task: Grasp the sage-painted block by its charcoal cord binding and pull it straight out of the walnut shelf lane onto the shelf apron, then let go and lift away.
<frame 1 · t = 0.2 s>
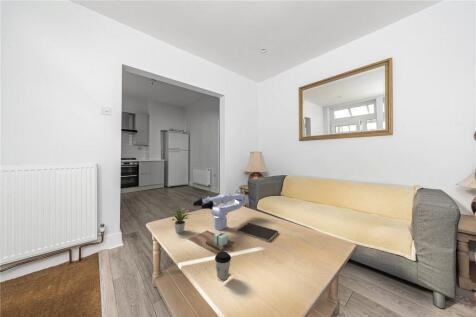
hand: (197, 205, 104), 21 cm above the table, tool horizontal, fingers open, 7 cm apart
coffee cup: (222, 278, 73), on the table
sage block: (220, 245, 97), point 1 cm above the table, touching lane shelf
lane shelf: (211, 242, 102), on the table
house plant: (178, 232, 114), on the table
hardcover book: (257, 233, 117), on the table
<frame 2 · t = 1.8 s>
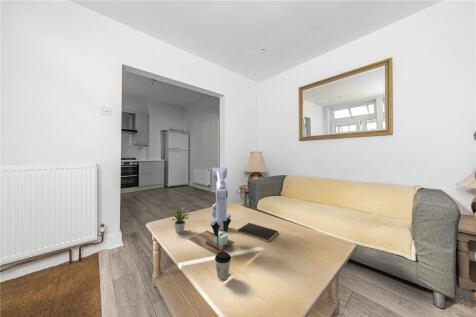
hand: (220, 233, 97), 8 cm above the table, tool pointing down, fingers open, 7 cm apart
nothing on the table moved.
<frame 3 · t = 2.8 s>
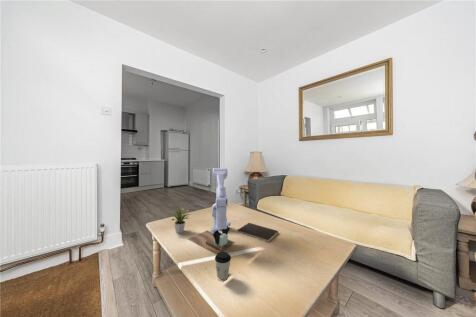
hand: (220, 241, 97), 3 cm above the table, tool pointing down, fingers closed on sage block, 5 cm apart
sage block: (220, 245, 97), point 1 cm above the table, touching gripper, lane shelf
everything else where it was.
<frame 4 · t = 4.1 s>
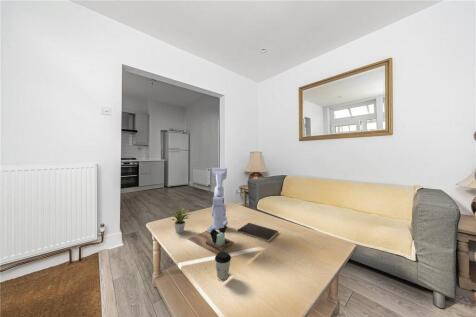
hand: (217, 240, 98), 3 cm above the table, tool pointing down, fingers closed on sage block, 5 cm apart
sage block: (217, 243, 98), point 1 cm above the table, touching gripper
everything else where it was.
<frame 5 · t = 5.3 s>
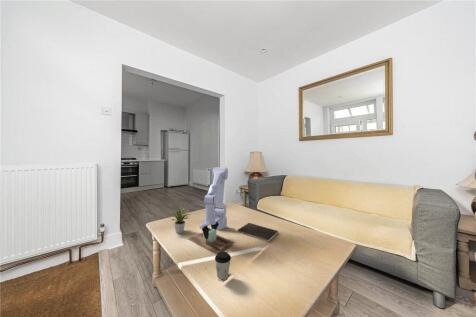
hand: (209, 236, 103), 3 cm above the table, tool pointing down, fingers closed on sage block, 5 cm apart
sage block: (209, 240, 102), point 1 cm above the table, touching gripper
everything else where it was.
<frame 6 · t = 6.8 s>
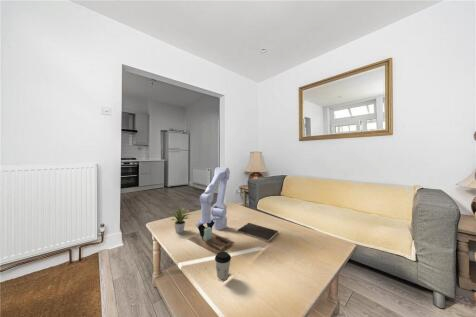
hand: (205, 234, 105), 3 cm above the table, tool pointing down, fingers closed on sage block, 5 cm apart
sage block: (205, 238, 105), point 1 cm above the table, touching gripper
everything else where it was.
when the fingers open (3 cm above the table, at t = 7.8 s): sage block stays where it is, resting on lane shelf.
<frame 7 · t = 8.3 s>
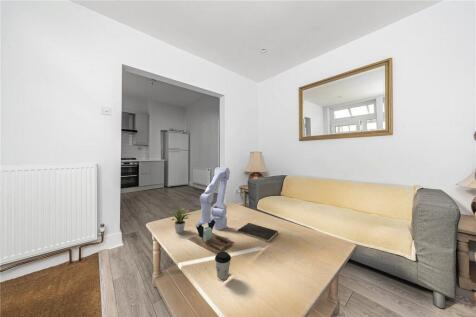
hand: (205, 234, 105), 3 cm above the table, tool pointing down, fingers open, 7 cm apart
sage block: (205, 238, 105), point 1 cm above the table, touching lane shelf
everything else where it was.
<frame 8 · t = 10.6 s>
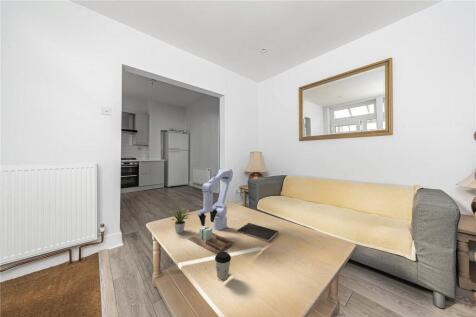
hand: (207, 223, 107), 9 cm above the table, tool pointing down, fingers open, 7 cm apart
nothing on the table moved.
at the end: sage block inside the target area (0.1 cm from its centre), point 1.0 cm above the table; sage block tilted 0°; the gripper is holding nothing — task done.
